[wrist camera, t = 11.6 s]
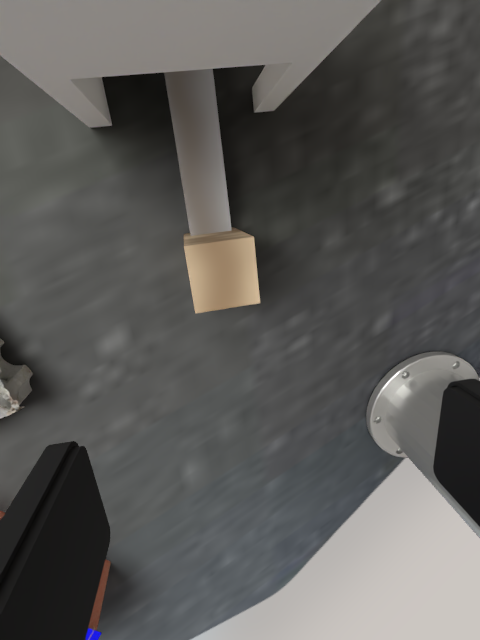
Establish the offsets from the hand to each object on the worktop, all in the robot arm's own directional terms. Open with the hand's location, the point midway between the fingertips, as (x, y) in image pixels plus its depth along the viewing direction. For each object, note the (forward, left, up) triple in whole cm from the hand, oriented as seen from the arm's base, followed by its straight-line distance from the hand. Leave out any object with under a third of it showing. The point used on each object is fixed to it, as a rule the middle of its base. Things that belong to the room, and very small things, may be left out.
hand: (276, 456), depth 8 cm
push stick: (0, -9, -20) cm, 22 cm away
